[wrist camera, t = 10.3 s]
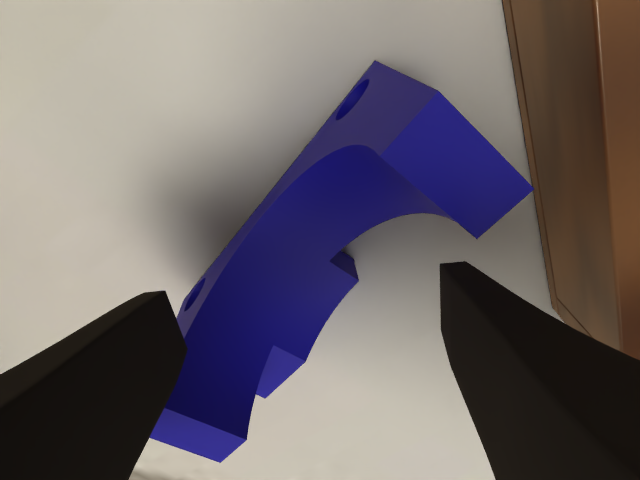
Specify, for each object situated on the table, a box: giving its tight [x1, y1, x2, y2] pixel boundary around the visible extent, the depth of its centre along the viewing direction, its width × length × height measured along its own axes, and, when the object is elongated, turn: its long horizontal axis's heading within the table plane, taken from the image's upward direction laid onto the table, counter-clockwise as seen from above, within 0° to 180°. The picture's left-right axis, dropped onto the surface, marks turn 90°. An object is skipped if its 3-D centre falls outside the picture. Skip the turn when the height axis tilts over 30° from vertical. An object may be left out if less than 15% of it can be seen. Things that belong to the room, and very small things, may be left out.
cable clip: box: [149, 61, 534, 463], centre depth 12 cm, size 12×4×6 cm, turn 141°
